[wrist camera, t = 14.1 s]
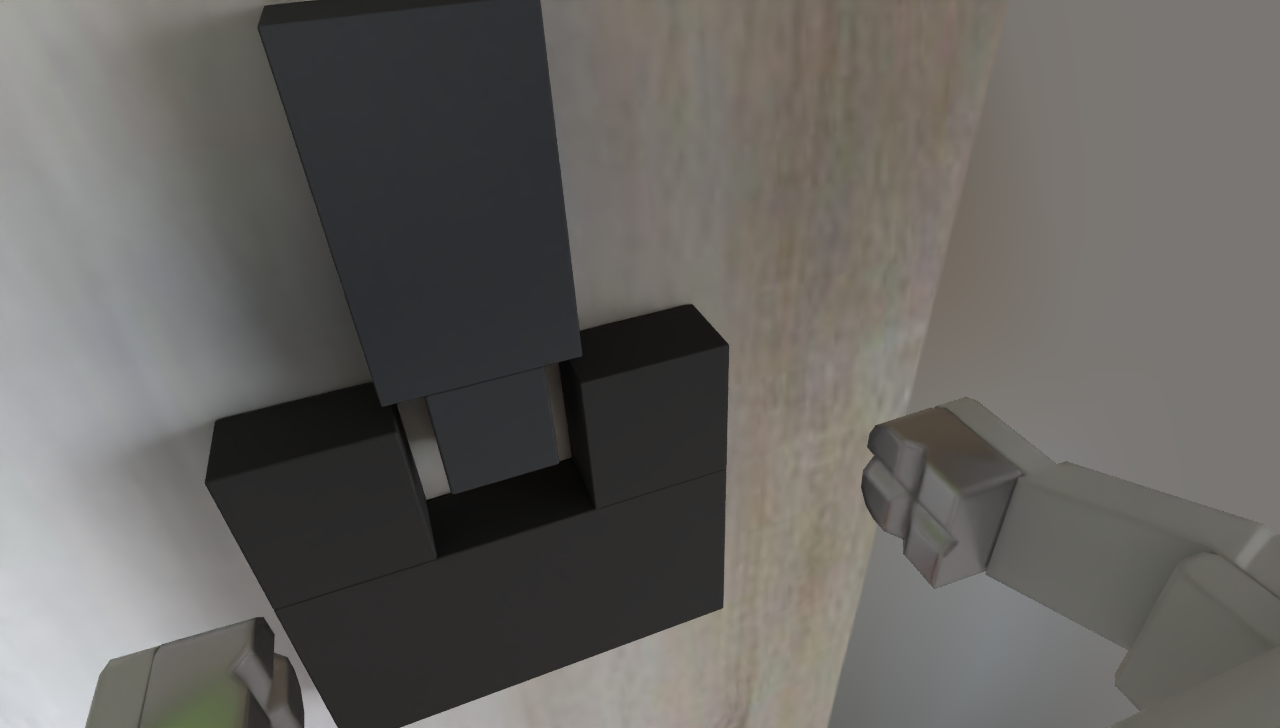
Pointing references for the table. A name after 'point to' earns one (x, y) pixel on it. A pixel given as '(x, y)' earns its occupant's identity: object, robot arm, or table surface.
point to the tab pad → (440, 209)
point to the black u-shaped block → (487, 529)
